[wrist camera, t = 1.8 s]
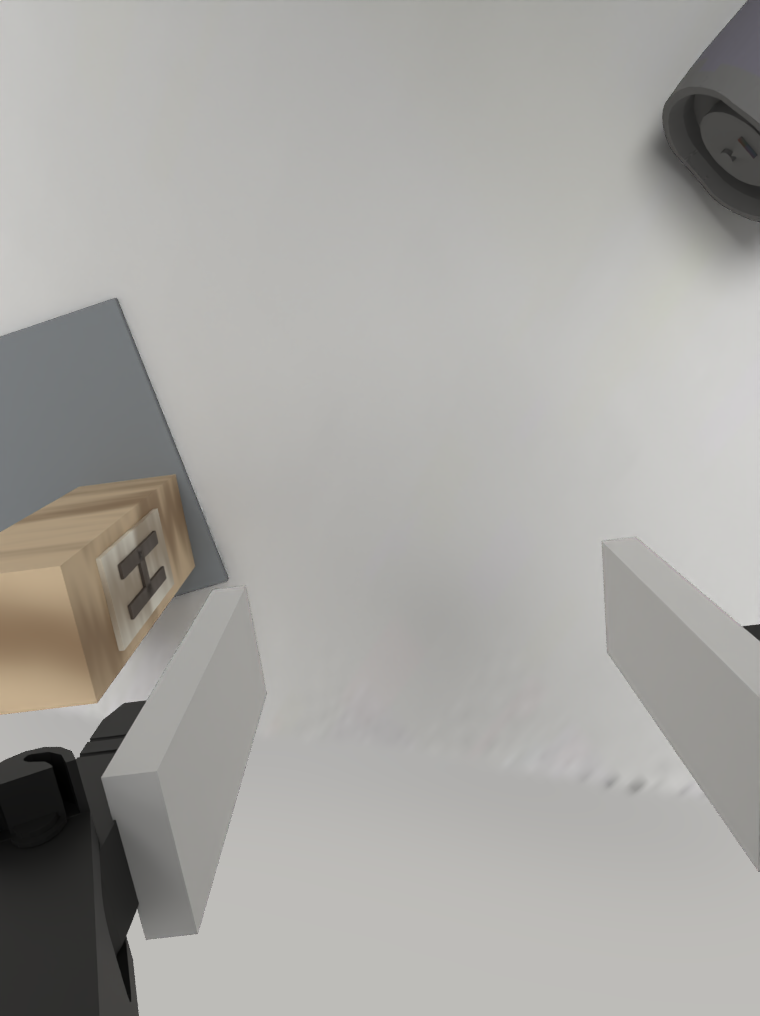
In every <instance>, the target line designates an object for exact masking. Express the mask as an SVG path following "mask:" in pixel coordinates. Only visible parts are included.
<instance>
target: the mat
mask: <svg viewBox="0 0 760 1016" xmlns="http://www.w3.org/2000/svg"><path fill="white" fill-rule="evenodd" d="M173 474H176V479H177V483H178V488H179V493H180V497H181V502H182V507H183V511H184V516H185V521H186V525H187V530H188V535H189V539H190V544H191V549H192V553H193V558H194V563H195V567H194V569H193V570H192V572H191V573H190V574H189V576H188V577H187V579H186V580H185V581H184V583H183V584H182V586H181V587H180V588H179V590H178V591H177V593H176V594H175V595H174V597H175V596H179V595H182V594H185V593H189V592H192V591H195V590H198V589H202V588H205V587H208V586H212V585H215V584H218V583H222V582H225V581H227V580H228V576H227V574H226V571H225V569H224V566H223V564H222V561H221V559H220V556H219V554H218V551H217V548H216V546H215V543H214V541H213V538H212V536H211V533H210V531H209V528H208V526H207V523H206V521H205V518H204V516H203V513H202V511H201V508H200V506H199V503H198V501H197V498H196V496H195V493H194V491H193V488H192V486H191V483H190V481H189V478H188V476H187V473H186V471H185V468H184V466H183V463H182V461H181V458H180V456H179V453H178V451H177V448H176V446H175V443H174V440H173V438H172V435H171V433H170V430H169V428H168V425H167V423H166V420H165V418H164V415H163V413H162V410H161V408H160V405H159V403H158V400H157V398H156V395H155V393H154V390H153V388H152V385H151V383H150V380H149V378H148V375H147V373H146V370H145V368H144V365H143V363H142V360H141V358H140V355H139V353H138V350H137V348H136V345H135V343H134V340H133V338H132V335H131V333H130V330H129V327H128V325H127V322H126V320H125V317H124V315H123V312H122V310H121V307H120V305H119V302H118V300H117V298H114V299H111V300H108V301H105V302H102V303H99V304H96V305H93V306H90V307H87V308H84V309H81V310H78V311H75V312H72V313H69V314H66V315H63V316H60V317H57V318H54V319H51V320H48V321H45V322H42V323H39V324H36V325H33V326H31V327H28V328H25V329H22V330H19V331H16V332H13V333H10V334H7V335H4V336H1V337H0V532H1V531H3V530H5V529H7V528H8V527H10V526H12V525H14V524H15V523H17V522H19V521H20V520H22V519H24V518H26V517H27V516H29V515H31V514H33V513H34V512H36V511H38V510H40V509H41V508H43V507H45V506H46V505H48V504H50V503H52V502H53V501H55V500H57V499H59V498H60V497H62V496H64V495H65V494H67V493H69V492H71V491H72V490H74V489H76V488H78V487H81V486H89V485H96V484H104V483H112V482H119V481H127V480H135V479H143V478H150V477H158V476H166V475H173Z"/></svg>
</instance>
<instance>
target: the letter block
mask: <svg viewBox="0 0 760 1016" xmlns="http://www.w3.org/2000/svg"><path fill="white" fill-rule="evenodd" d="M194 567H195V563H194V558H193V553H192V549H191V544H190V539H189V535H188V530H187V525H186V521H185V516H184V511H183V507H182V502H181V497H180V493H179V488H178V483H177V479H176V474H173V475H166V476H158V477H150V478H143V479H135V480H127V481H119V482H112V483H104V484H96V485H89V486H81V487H78V488H76V489H74V490H72V491H71V492H69V493H67V494H65V495H64V496H62V497H60V498H59V499H57V500H55V501H53V502H52V503H50V504H48V505H46V506H45V507H43V508H41V509H40V510H38V511H36V512H34V513H33V514H31V515H29V516H27V517H26V518H24V519H22V520H20V521H19V522H17V523H15V524H14V525H12V526H10V527H8V528H7V529H5V530H3V531H1V532H0V715H2V714H11V713H19V712H27V711H36V710H44V709H52V708H61V707H69V706H77V705H85V704H94V703H98V701H99V700H100V699H101V697H102V696H103V694H104V693H105V692H106V690H107V689H108V687H109V686H110V685H111V683H112V682H113V680H114V679H115V678H116V676H117V675H118V673H119V672H120V671H121V669H122V668H123V667H124V665H125V664H126V662H127V661H128V660H129V658H130V657H131V655H132V654H133V653H134V651H135V650H136V648H137V647H138V646H139V644H140V643H141V641H142V640H143V639H144V637H145V636H146V634H147V633H148V632H149V630H150V629H151V627H152V626H153V625H154V623H155V622H156V620H157V619H158V618H159V616H160V615H161V613H162V612H163V611H164V609H165V608H166V607H167V605H168V604H169V602H170V601H171V600H172V598H173V597H174V595H175V594H176V593H177V591H178V590H179V588H180V587H181V586H182V584H183V583H184V581H185V580H186V579H187V577H188V576H189V574H190V573H191V572H192V570H193V569H194Z"/></svg>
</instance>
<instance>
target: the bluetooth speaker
mask: <svg viewBox="0 0 760 1016" xmlns="http://www.w3.org/2000/svg"><path fill="white" fill-rule="evenodd" d="M662 119H663V128H664V132H665V135H666V138H667V141H668V143H669V145H670V147H671V149H672V150H673V152H674V154H675V155H676V156H677V157H678V158H679V159H680V160H681V161H682V162H683V163H684V164H685V165H686V167H687V168H688V169H689V170H690V171H691V172H692V174H693V175H694V176H695V177H696V178H697V179H698V180H699V182H700V183H701V184H702V185H703V187H704V188H705V189H706V190H707V192H708V193H709V194H710V195H711V196H712V197H713V198H714V199H715V200H716V201H718V202H719V203H720V204H721V205H723V206H724V207H726V208H728V209H729V210H731V211H733V212H735V213H737V214H739V215H741V216H743V217H746V218H748V219H751V220H754V221H758V222H760V0H748V1H747V2H746V3H745V4H744V5H743V7H742V8H741V9H740V10H739V11H738V12H737V13H736V15H735V16H734V17H733V18H732V19H731V20H730V22H729V23H728V24H727V25H726V26H725V27H724V28H723V30H722V31H721V32H720V33H719V34H718V35H717V37H716V38H715V39H714V40H713V41H712V42H711V44H710V45H709V46H708V47H707V48H706V49H705V51H704V52H703V53H702V55H701V56H700V57H699V58H698V60H697V61H696V62H695V63H694V65H693V66H692V67H691V69H690V70H689V71H688V73H687V74H686V75H685V77H684V78H683V79H682V80H681V82H680V83H679V85H678V86H677V87H676V89H675V90H674V92H673V93H672V94H671V96H670V97H669V99H668V100H667V101H666V103H665V105H664V109H663V116H662Z"/></svg>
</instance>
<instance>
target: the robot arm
mask: <svg viewBox="0 0 760 1016" xmlns="http://www.w3.org/2000/svg"><path fill="white" fill-rule="evenodd" d="M602 558H603V579H604V601H605V622H606V643H607V653H608V654H609V656H610V657H611V659H612V660H613V662H614V663H615V665H616V666H617V668H618V669H619V670H620V672H621V673H622V675H623V676H624V678H625V679H626V681H627V682H628V683H629V685H630V686H631V688H632V689H633V691H634V692H635V694H636V695H637V697H638V698H639V699H640V701H641V702H642V704H643V705H644V707H645V708H646V710H647V711H648V712H649V714H650V715H651V717H652V718H653V720H654V721H655V723H656V724H657V726H658V727H659V728H660V730H661V731H662V733H663V734H664V736H665V737H666V739H667V740H668V741H669V743H670V744H671V746H672V747H673V749H674V750H675V752H676V753H677V755H678V756H679V757H680V759H681V760H682V762H683V763H684V765H685V766H686V768H687V769H688V770H689V772H690V773H691V775H692V776H693V778H694V779H695V781H696V782H697V784H698V785H699V786H700V788H701V789H702V791H703V792H704V794H705V795H706V797H707V798H708V799H709V801H710V802H711V804H712V805H713V807H714V808H715V810H716V811H717V812H718V814H719V815H720V817H721V818H722V820H723V821H724V823H725V824H726V825H727V827H728V828H729V830H730V831H731V833H732V834H733V836H734V837H735V838H736V840H737V841H738V843H739V844H740V846H741V847H742V849H743V850H744V852H745V853H746V855H747V856H748V857H749V859H750V860H751V862H752V863H753V865H754V866H755V867H756V869H757V870H758V872H760V624H759V625H750V626H741V625H740V624H739V623H738V622H736V621H735V620H734V619H733V618H732V617H730V616H729V615H728V614H727V613H726V612H725V611H723V610H722V609H721V608H720V607H719V606H717V605H716V604H715V603H714V602H713V601H712V600H710V599H709V598H708V597H707V596H706V595H704V594H703V593H702V592H701V591H700V590H699V589H697V588H696V587H695V586H694V585H693V584H691V583H690V582H689V581H688V580H687V579H685V578H684V577H683V576H682V575H681V574H680V573H678V572H677V571H676V570H675V569H674V568H672V567H671V566H670V565H669V564H668V563H667V562H665V561H664V560H663V559H662V558H661V557H659V556H658V555H657V554H656V553H655V552H654V551H652V550H651V549H650V548H649V547H648V546H646V545H645V544H644V543H643V542H642V541H641V540H639V539H638V538H637V537H630V538H622V539H614V540H606V541H602ZM266 695H267V691H266V686H265V681H264V676H263V671H262V665H261V660H260V655H259V650H258V645H257V640H256V635H255V630H254V625H253V619H252V614H251V609H250V604H249V599H248V594H247V589H246V586H238V587H230V588H222V589H214V590H212V591H211V593H210V595H209V597H208V598H207V600H206V602H205V603H204V605H203V607H202V608H201V610H200V612H199V613H198V615H197V617H196V618H195V620H194V622H193V623H192V625H191V627H190V629H189V630H188V632H187V634H186V635H185V637H184V639H183V640H182V642H181V644H180V645H179V647H178V649H177V650H176V652H175V654H174V656H173V657H172V659H171V661H170V662H169V664H168V666H167V667H166V669H165V671H164V672H163V674H162V676H161V677H160V679H159V681H158V682H157V684H156V686H155V688H154V689H153V691H152V693H151V694H150V696H149V698H148V699H147V700H146V701H138V702H130V703H124V704H122V705H121V706H120V707H119V708H117V709H116V710H115V711H114V712H112V713H111V714H110V715H109V716H107V717H106V718H105V719H103V720H102V722H101V723H100V725H99V726H98V728H97V729H96V731H95V732H94V734H93V735H92V737H91V738H90V742H87V744H86V745H85V747H84V748H83V750H82V751H81V753H80V757H79V758H77V759H75V757H74V755H73V753H72V751H70V750H67V749H64V748H62V747H43V748H38V749H35V750H30V751H25V752H23V753H20V754H18V755H16V756H13V757H11V758H9V759H6V760H4V761H2V762H1V763H0V1016H139V1014H138V1004H137V995H136V985H135V975H134V966H133V958H132V955H131V951H130V948H129V944H128V941H127V937H126V935H127V932H128V930H129V928H130V925H131V923H132V920H133V917H134V915H135V913H136V910H137V909H138V913H139V916H140V920H141V924H142V927H143V931H144V934H145V938H146V940H148V939H157V938H166V937H174V936H184V935H192V934H198V932H199V928H200V925H201V921H202V918H203V914H204V911H205V907H206V904H207V900H208V897H209V893H210V890H211V886H212V883H213V880H214V876H215V873H216V869H217V866H218V862H219V859H220V855H221V851H222V847H223V844H224V841H225V837H226V834H227V831H228V827H229V824H230V820H231V817H232V813H233V809H234V806H235V802H236V799H237V796H238V792H239V789H240V785H241V782H242V778H243V775H244V771H245V768H246V764H247V761H248V757H249V754H250V750H251V747H252V743H253V740H254V736H255V733H256V729H257V726H258V722H259V719H260V715H261V712H262V709H263V705H264V702H265V698H266Z"/></svg>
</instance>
